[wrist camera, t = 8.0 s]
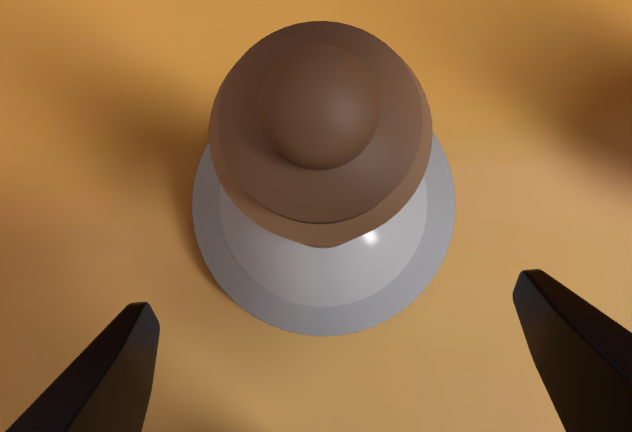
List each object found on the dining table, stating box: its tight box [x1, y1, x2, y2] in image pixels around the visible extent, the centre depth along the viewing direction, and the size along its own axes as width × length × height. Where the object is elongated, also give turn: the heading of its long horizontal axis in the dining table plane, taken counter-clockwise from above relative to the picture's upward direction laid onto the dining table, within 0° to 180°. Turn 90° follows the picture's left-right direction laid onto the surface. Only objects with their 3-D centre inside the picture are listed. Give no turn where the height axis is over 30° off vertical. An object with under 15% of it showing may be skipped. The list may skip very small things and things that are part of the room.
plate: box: [192, 133, 455, 336], centre depth 22 cm, size 14×14×1 cm
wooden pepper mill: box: [209, 21, 433, 248], centre depth 14 cm, size 5×5×15 cm
